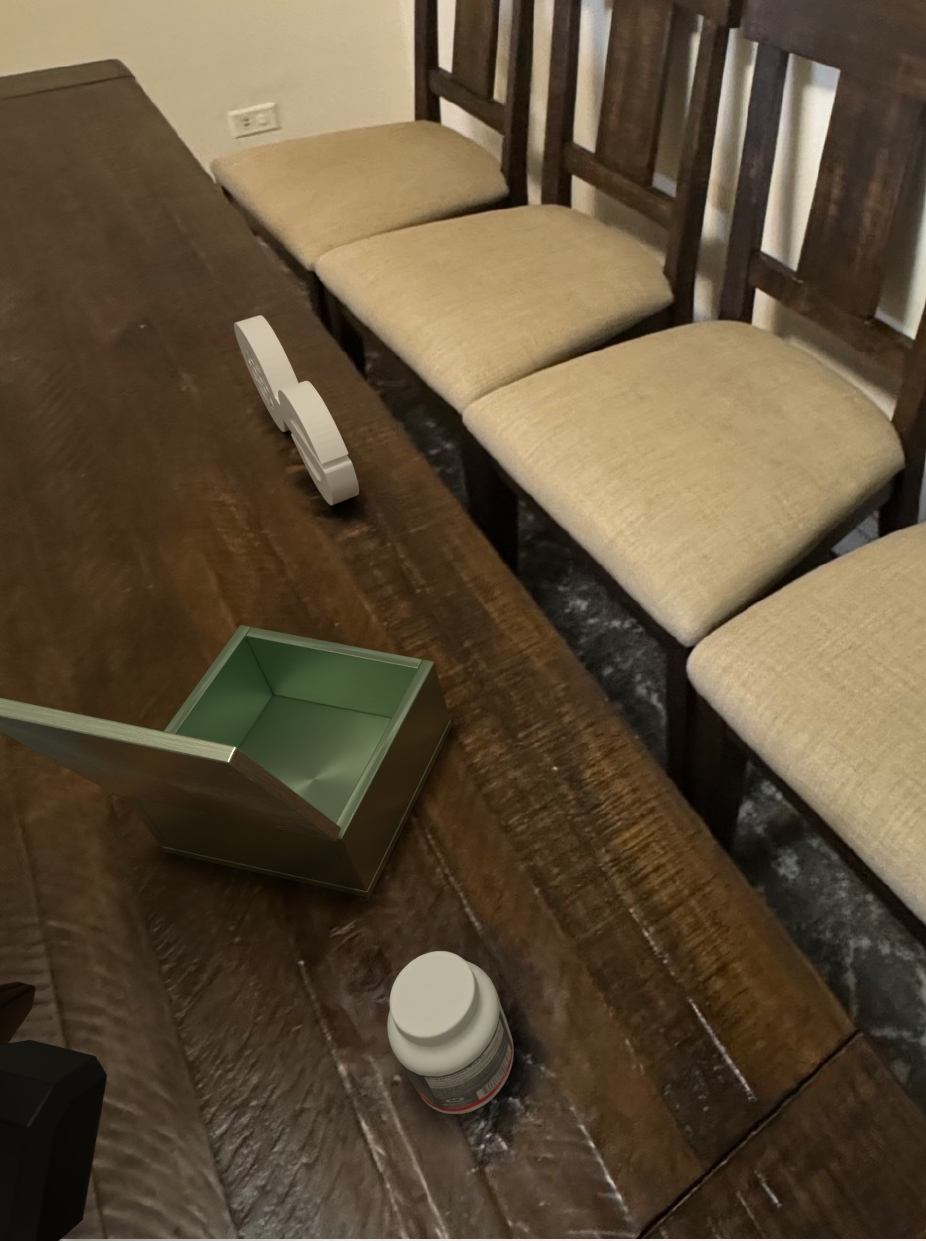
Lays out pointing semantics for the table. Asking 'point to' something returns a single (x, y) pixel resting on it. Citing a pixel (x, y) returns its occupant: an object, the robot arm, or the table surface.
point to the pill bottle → (449, 1032)
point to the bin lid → (164, 768)
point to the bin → (312, 753)
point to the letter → (297, 410)
